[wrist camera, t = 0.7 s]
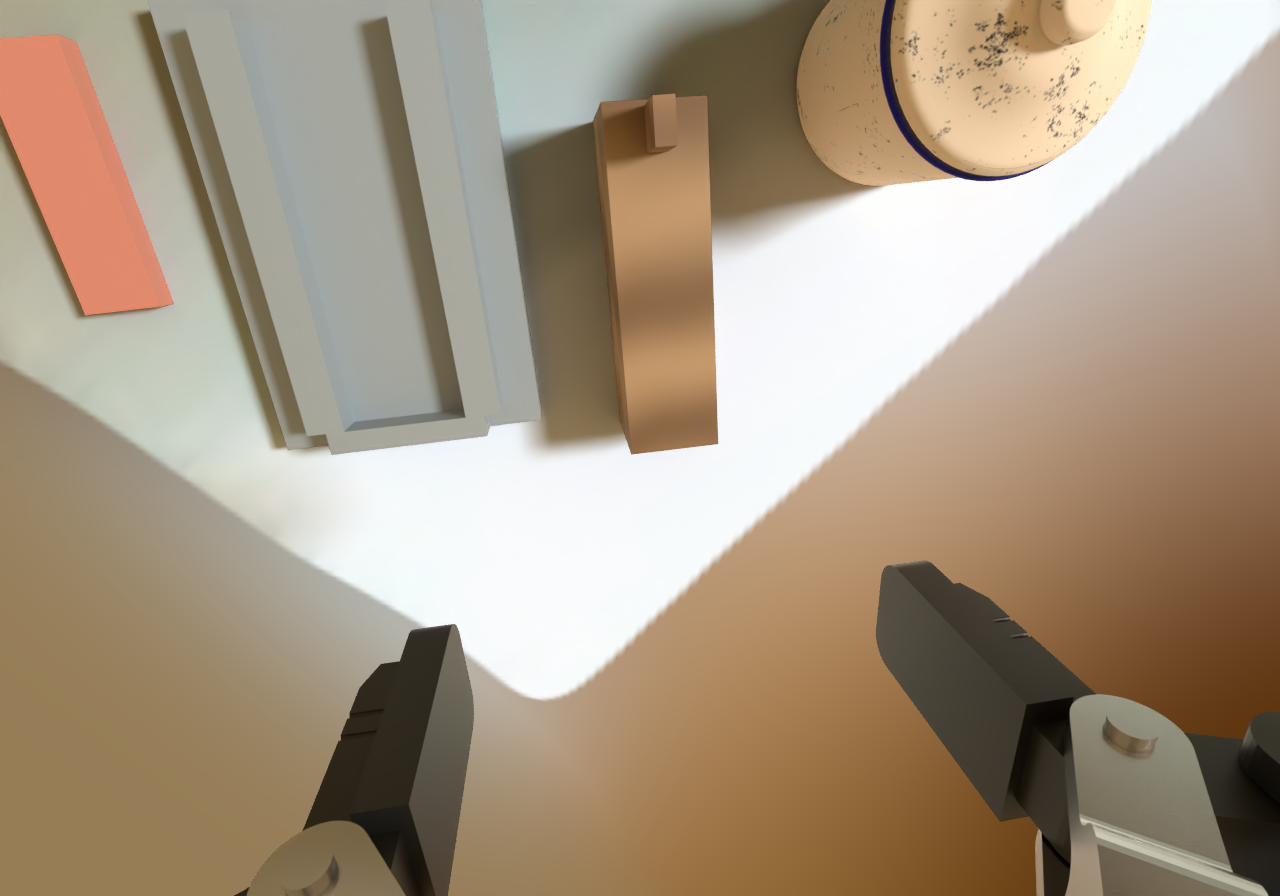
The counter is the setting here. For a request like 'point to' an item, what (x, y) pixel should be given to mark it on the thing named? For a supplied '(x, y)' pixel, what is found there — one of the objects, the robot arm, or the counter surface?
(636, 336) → the plank with peg
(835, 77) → the teacup with lid
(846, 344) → the counter surface
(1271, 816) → the robot arm
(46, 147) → the salmon pink bar
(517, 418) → the cradle jig
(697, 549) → the counter surface
